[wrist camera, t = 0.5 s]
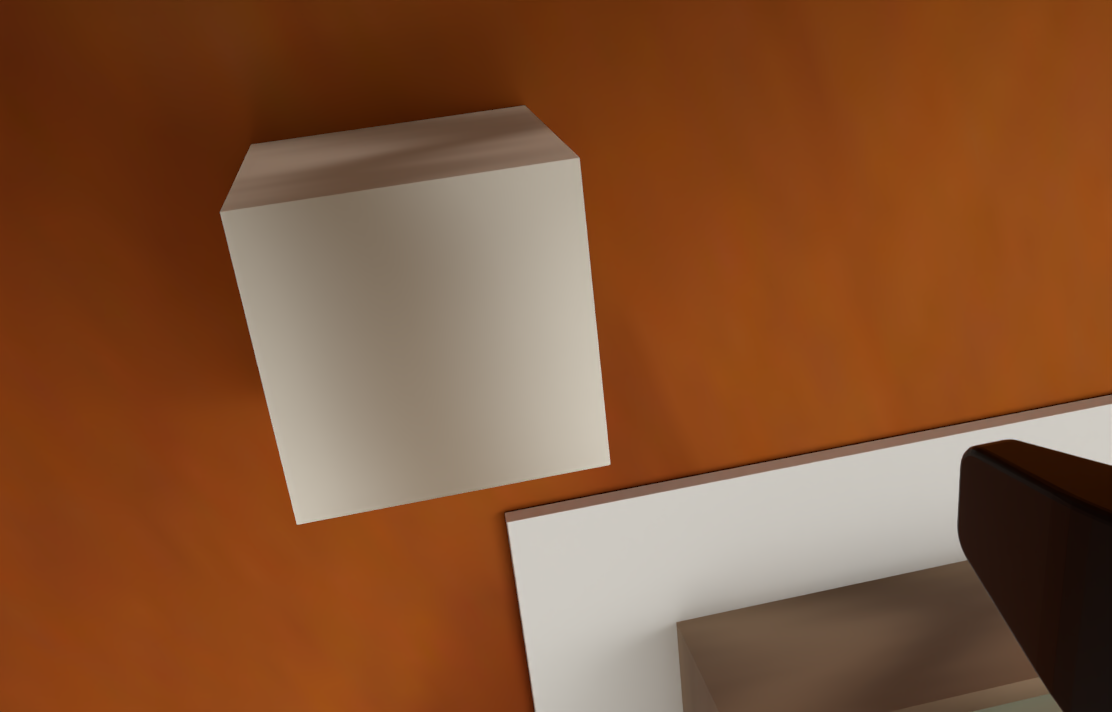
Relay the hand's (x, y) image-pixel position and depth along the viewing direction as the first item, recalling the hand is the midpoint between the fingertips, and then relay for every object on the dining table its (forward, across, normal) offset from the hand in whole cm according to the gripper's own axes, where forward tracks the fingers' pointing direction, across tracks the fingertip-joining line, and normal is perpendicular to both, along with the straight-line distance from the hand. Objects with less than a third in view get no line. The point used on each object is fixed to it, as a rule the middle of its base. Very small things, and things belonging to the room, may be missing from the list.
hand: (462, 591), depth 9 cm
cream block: (+12, 0, +1) cm, 12 cm away
